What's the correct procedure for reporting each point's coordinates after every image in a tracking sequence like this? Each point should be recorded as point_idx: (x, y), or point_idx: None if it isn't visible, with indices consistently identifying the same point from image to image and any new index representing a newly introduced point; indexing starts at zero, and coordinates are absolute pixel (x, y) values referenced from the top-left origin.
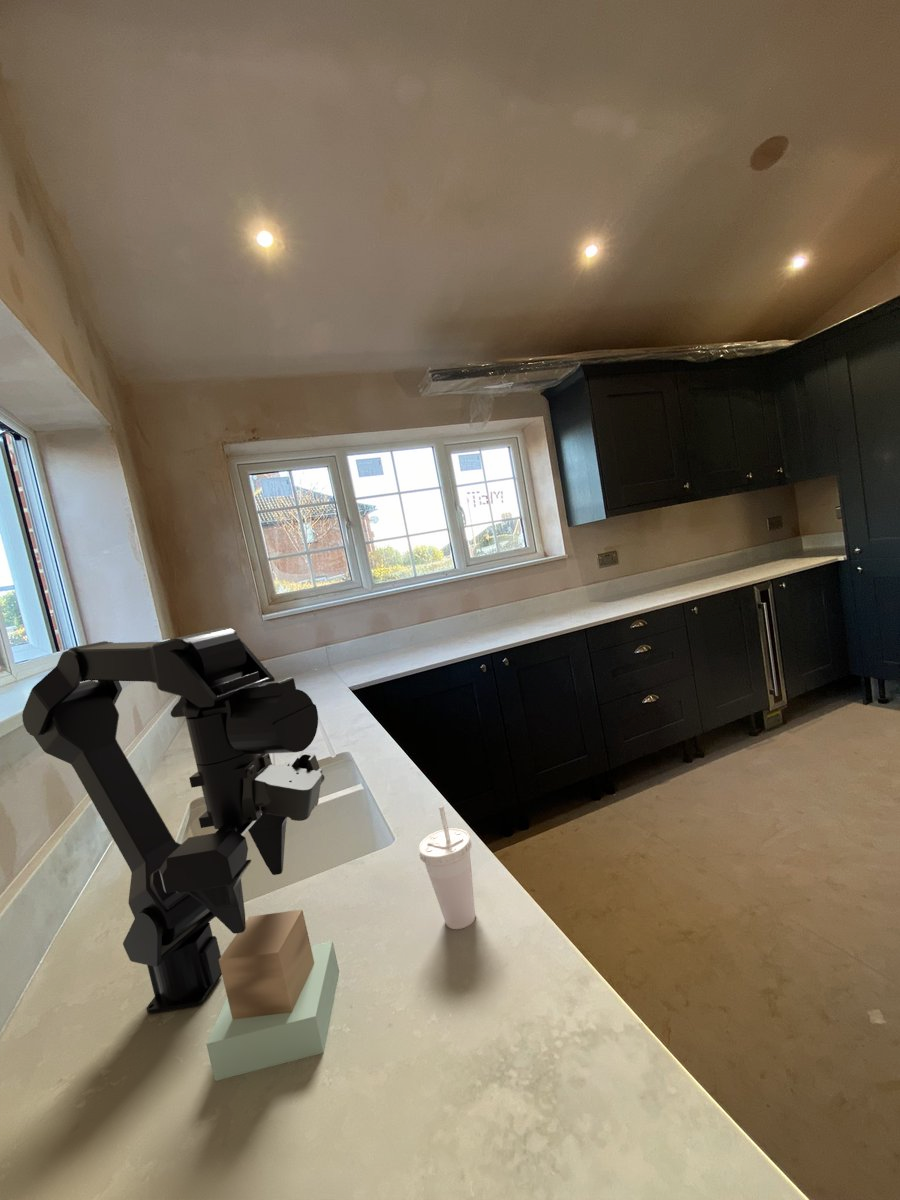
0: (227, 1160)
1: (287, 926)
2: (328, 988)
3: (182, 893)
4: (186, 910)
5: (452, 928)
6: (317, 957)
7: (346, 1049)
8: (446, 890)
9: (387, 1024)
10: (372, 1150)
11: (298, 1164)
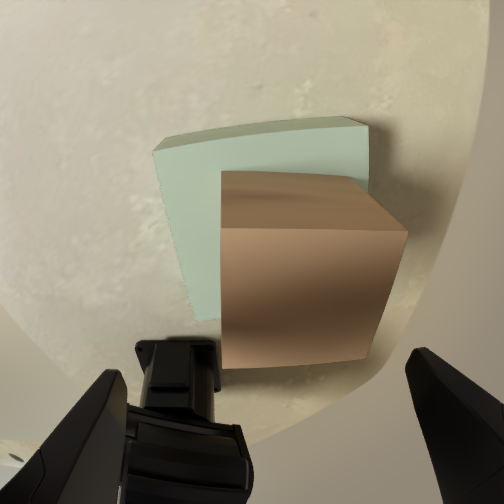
0: (437, 203)
1: (303, 247)
2: (256, 128)
3: (213, 495)
4: (212, 464)
5: None
6: (202, 170)
7: (344, 80)
8: None
9: (311, 18)
10: (463, 45)
11: (460, 123)
